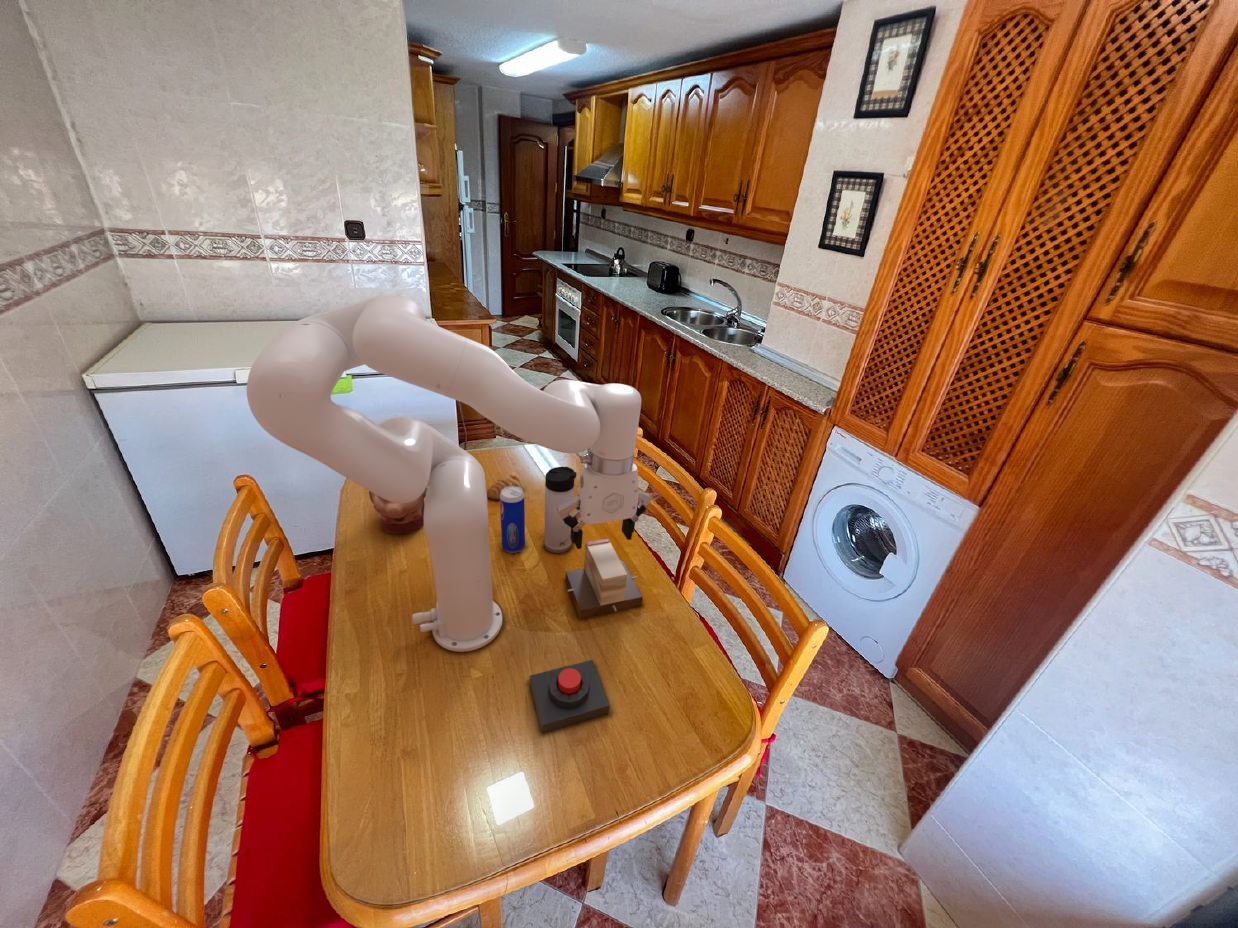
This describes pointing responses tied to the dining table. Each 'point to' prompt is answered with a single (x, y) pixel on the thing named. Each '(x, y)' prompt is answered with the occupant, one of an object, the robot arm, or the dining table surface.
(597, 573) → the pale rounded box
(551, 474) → the travel mug
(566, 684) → the button
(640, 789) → the dining table surface
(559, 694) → the button block
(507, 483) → the pastry
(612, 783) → the dining table surface
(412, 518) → the decorative planter
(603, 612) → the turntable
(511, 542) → the beverage can
